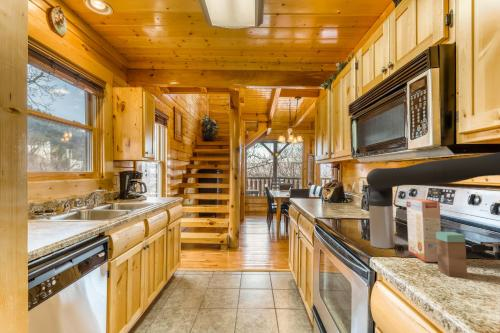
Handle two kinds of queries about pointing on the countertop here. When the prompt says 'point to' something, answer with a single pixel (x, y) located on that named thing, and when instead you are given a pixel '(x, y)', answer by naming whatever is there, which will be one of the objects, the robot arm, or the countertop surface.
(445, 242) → the walnut block
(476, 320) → the countertop surface
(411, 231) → the cracker box
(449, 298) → the countertop surface
